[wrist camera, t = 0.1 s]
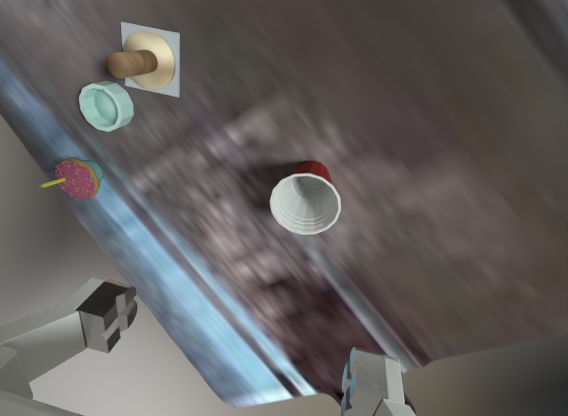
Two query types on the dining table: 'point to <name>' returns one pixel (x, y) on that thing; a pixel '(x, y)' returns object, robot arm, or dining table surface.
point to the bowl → (106, 105)
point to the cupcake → (77, 178)
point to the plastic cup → (306, 200)
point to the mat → (174, 43)
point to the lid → (144, 60)
